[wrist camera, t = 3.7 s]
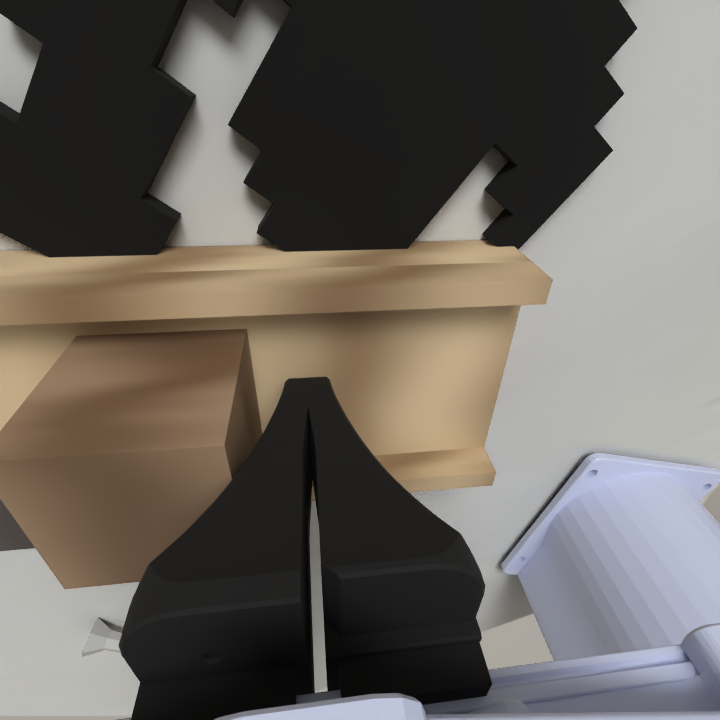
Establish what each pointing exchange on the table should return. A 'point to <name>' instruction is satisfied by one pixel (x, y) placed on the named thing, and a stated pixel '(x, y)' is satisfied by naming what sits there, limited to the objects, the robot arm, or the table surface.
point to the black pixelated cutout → (312, 119)
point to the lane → (302, 334)
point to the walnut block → (127, 448)
